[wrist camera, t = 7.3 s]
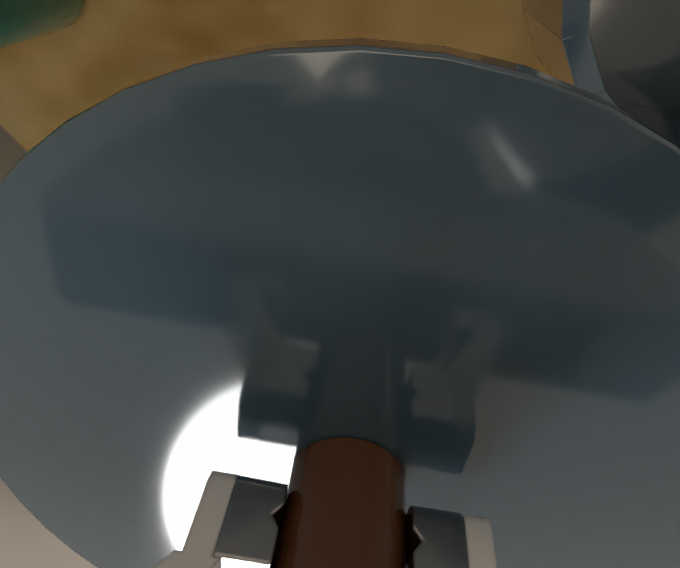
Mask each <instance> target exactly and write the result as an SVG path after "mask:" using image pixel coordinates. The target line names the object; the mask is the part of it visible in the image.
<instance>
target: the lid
mask: <svg viewBox="0 0 680 568" xmlns="http://www.w3.org/2000/svg"><path fill="white" fill-rule="evenodd" d="M212 471H219V472H224V473H230V474H236V475H240V476H245V477H250V478H256V479H261V480H267V481H272V482H277V483H283V484H288V491H287V498H286V503H285V508H284V513H283V518H282V523H281V526H280V528H279V532H278V537H277V546H276V552H275V556H274V561H273V566H272V568H406V514H407V511H408V508H409V507H410V506H411V505H412V506H419V507H425V508H432V509H438V510H444V511H451V512H457V513H460V514H464V515H471V516H477V517H484V518H487V519H488V520H489V522H490V524H491V528H492V535H493V542H494V549H495V556H496V563H497V568H680V148H679V147H678V146H677V145H675V144H674V143H673V142H672V141H671V140H669V139H668V138H667V137H666V136H665V135H663V134H662V133H661V132H659V131H657V130H655V129H654V128H652V127H650V126H649V125H647V124H645V123H644V122H642V121H640V120H639V119H637V118H635V117H634V116H632V115H630V114H629V113H627V112H625V111H624V110H622V109H620V108H619V107H617V106H615V105H614V104H612V103H610V102H608V101H607V100H605V99H603V98H602V97H600V96H598V95H596V94H594V93H591V92H589V91H586V90H584V89H581V88H579V87H576V86H574V85H571V84H569V83H566V82H564V81H561V80H559V79H557V78H554V77H552V76H549V75H547V74H544V73H542V72H539V71H537V70H534V69H532V68H529V67H527V66H524V65H520V64H516V63H512V62H508V61H504V60H500V59H495V58H491V57H487V56H483V55H479V54H475V53H471V52H466V51H462V50H458V49H454V48H450V47H446V46H438V45H428V44H417V43H407V42H396V41H386V40H375V39H365V38H354V39H333V40H312V41H290V42H278V43H272V44H267V45H262V46H257V47H252V48H247V49H242V50H237V51H231V52H226V53H221V54H216V55H211V56H206V57H203V58H200V59H197V60H194V61H191V62H189V63H186V64H183V65H180V66H178V67H175V68H172V69H169V70H166V71H164V72H161V73H158V74H155V75H152V76H150V77H147V78H144V79H141V80H139V81H137V82H135V83H133V84H131V85H129V86H128V87H126V88H124V89H122V90H120V91H119V92H117V93H115V94H113V95H111V96H110V97H108V98H106V99H104V100H102V101H101V102H99V103H97V104H95V105H93V106H92V107H90V108H88V109H86V110H84V111H83V112H81V113H79V114H77V115H76V116H74V117H72V118H71V119H69V120H67V121H66V122H64V123H63V124H62V125H61V126H59V127H58V128H57V129H56V130H55V131H53V132H52V133H51V134H50V135H48V136H47V137H46V138H45V139H44V140H42V141H41V142H40V143H39V144H37V145H36V146H35V147H34V148H33V149H31V150H30V151H29V152H28V153H26V154H25V155H24V156H23V157H22V158H20V159H19V160H18V162H17V163H16V164H15V165H14V166H13V167H12V169H11V170H10V171H9V172H8V173H7V175H6V176H5V177H4V178H3V179H2V181H1V182H0V479H1V480H2V481H3V483H4V484H5V485H6V486H7V487H8V489H9V490H10V491H11V492H12V494H13V495H14V496H15V497H16V499H17V500H18V501H19V502H20V503H21V504H22V505H23V506H24V507H25V508H26V509H27V510H28V511H29V512H30V513H31V514H32V515H33V516H34V517H35V518H36V519H37V520H38V521H39V522H40V523H41V524H42V525H43V526H44V527H45V528H46V529H47V530H49V531H50V532H51V533H52V534H54V535H55V536H56V537H57V538H58V539H59V540H61V541H62V542H63V543H64V544H66V545H67V546H68V547H69V548H70V549H72V550H73V551H74V552H76V553H77V554H78V555H80V556H81V557H83V558H84V559H86V560H87V561H88V562H90V563H91V564H93V565H94V566H96V567H97V568H154V567H156V566H157V565H158V564H159V563H160V562H161V561H162V560H164V559H165V558H166V557H167V556H168V555H169V554H170V553H172V552H173V551H174V550H177V551H182V550H183V547H184V544H185V541H186V538H187V536H188V533H189V530H190V527H191V525H192V522H193V519H194V516H195V513H196V511H197V508H198V505H199V502H200V499H201V497H202V494H203V491H204V488H205V485H206V483H207V480H208V478H209V476H210V474H211V473H212Z"/></svg>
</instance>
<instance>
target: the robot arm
mask: <svg viewBox="0 0 680 568" xmlns="http://www.w3.org/2000/svg"><path fill="white" fill-rule="evenodd" d="M287 491H288V484H283V483H277V482H272V481H267V480H261V479H256V478H250V477H245V476H240V475H236V474H230V473H224V472H219V471H212V473H211V474H210V476H209V478H208V480H207V483H206V485H205V488H204V491H203V494H202V497H201V499H200V502H199V505H198V508H197V511H196V513H195V516H194V519H193V522H192V525H191V527H190V530H189V533H188V536H187V538H186V541H185V544H184V547H183V550H182V551H177V550H174V551H173V552H172V553H170V554H169V555H168V556H167V557H166V558H165V559H164V560H162V561H161V562H160V563H159V564H158V565H157V566H156V567H154V568H272V566H273V561H274V556H275V552H276V546H277V537H278V532H279V528H280V526H281V523H282V518H283V513H284V508H285V503H286V498H287ZM406 568H497V563H496V556H495V549H494V542H493V535H492V528H491V524H490V522H489V520H488V519H487V518H484V517H477V516H471V515H464V514H460V513H457V512H451V511H444V510H438V509H432V508H425V507H419V506H412V505H411V506H410V507H409V508H408V511H407V514H406Z"/></svg>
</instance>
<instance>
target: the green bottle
mask: <svg viewBox="0 0 680 568" xmlns="http://www.w3.org/2000/svg"><path fill="white" fill-rule="evenodd" d="M82 2H83V0H0V49H1V48H4V47H7V46H10V45H13V44H16V43H20V42H23V41H26V40H29V39H32V38H35V37H38V36H42V35H45V34H48V33H51V32H54V31H57V30H60V29H63V28H66V27H68V26H70V25H71V24H72V23H73V22H74V20H75V19H76V18H77V17H78V15H79V14H80V11H81V7H82Z"/></svg>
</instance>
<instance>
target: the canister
mask: <svg viewBox="0 0 680 568" xmlns="http://www.w3.org/2000/svg"><path fill="white" fill-rule="evenodd" d="M523 11H524V15H525V19H526V22H527V26H528V29H529V33H530V37H531V39H532V41H533V43H534V46H535V48H536V51H537V54H538V58H539V60H540V61H541V62H542V63H543V65H544V66H545V67H546V68H547V70H548V71H549V72H550V73H551V75H552V76H553V77H554V78H557V79H559V80H561V81H564V82H566V83H569V84H571V85H574V86H576V87H579V88H581V89H584V90H586V91H589V92H591V93H594V94H596V95H598V96H600V97H602V98H603V99H605V100H607V101H608V102H610V103H612V104H614V105H615V106H617V107H619V108H620V109H622V110H624V111H625V112H627V113H629V114H630V115H632V116H634V117H635V118H637V119H639V120H640V121H642V122H644V123H645V124H647V125H649V126H650V127H652V128H654V129H655V130H657V131H659V132H661V133H662V134H663V135H665V136H666V137H667V138H668V139H669V140H671V141H672V142H673V143H674V144H675V145H677V146H678V147H679V148H680V0H523Z"/></svg>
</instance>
